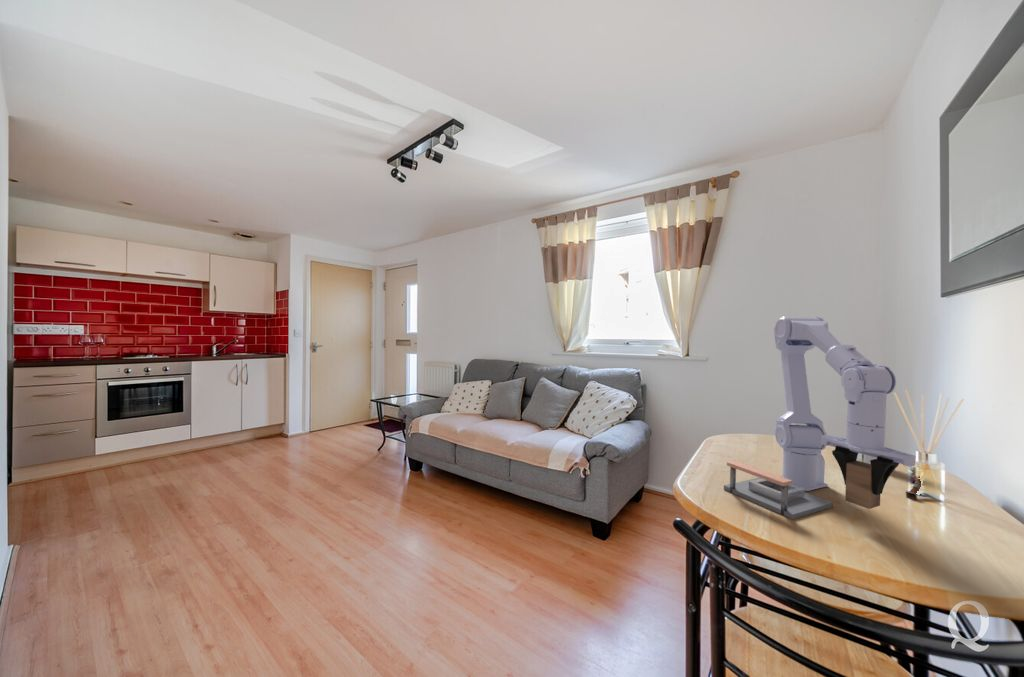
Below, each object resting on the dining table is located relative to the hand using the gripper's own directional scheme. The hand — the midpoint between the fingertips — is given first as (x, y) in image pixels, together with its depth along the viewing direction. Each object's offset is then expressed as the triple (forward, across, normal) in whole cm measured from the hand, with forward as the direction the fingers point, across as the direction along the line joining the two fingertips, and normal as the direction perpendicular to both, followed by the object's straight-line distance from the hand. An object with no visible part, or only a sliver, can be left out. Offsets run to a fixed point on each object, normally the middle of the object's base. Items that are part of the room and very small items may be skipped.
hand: (862, 488), depth 77 cm
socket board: (+8, -15, -4) cm, 17 cm away
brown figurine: (+8, -3, +31) cm, 32 cm away
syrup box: (+8, -20, +47) cm, 52 cm away
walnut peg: (+3, 0, 0) cm, 3 cm away
